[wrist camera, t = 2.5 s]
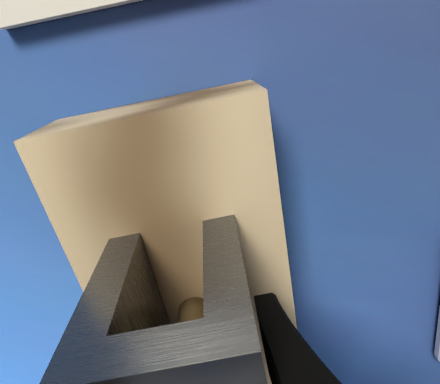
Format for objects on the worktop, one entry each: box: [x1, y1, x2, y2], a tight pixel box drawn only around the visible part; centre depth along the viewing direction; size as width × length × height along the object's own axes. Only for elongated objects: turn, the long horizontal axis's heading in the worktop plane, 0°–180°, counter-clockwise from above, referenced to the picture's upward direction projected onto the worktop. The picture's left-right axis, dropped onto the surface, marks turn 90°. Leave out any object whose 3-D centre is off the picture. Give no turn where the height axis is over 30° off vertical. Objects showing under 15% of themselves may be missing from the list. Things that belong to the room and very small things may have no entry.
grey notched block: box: [40, 215, 267, 384], centre depth 9 cm, size 4×7×5 cm, turn 11°
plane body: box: [14, 80, 297, 384], centre depth 12 cm, size 7×14×6 cm, turn 11°
